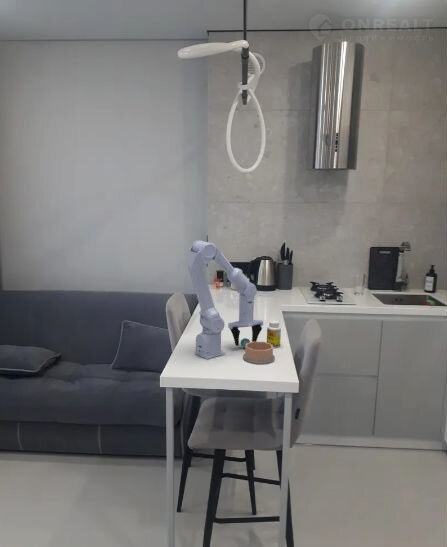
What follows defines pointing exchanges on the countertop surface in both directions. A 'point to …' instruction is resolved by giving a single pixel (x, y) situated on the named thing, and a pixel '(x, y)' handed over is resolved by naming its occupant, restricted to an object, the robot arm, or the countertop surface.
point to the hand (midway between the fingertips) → (245, 344)
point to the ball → (244, 342)
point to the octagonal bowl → (259, 353)
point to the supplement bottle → (274, 333)
